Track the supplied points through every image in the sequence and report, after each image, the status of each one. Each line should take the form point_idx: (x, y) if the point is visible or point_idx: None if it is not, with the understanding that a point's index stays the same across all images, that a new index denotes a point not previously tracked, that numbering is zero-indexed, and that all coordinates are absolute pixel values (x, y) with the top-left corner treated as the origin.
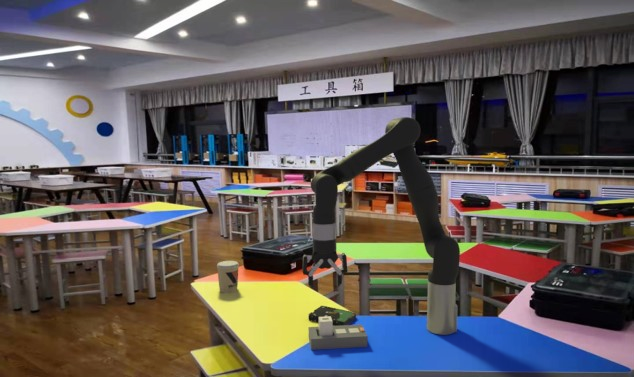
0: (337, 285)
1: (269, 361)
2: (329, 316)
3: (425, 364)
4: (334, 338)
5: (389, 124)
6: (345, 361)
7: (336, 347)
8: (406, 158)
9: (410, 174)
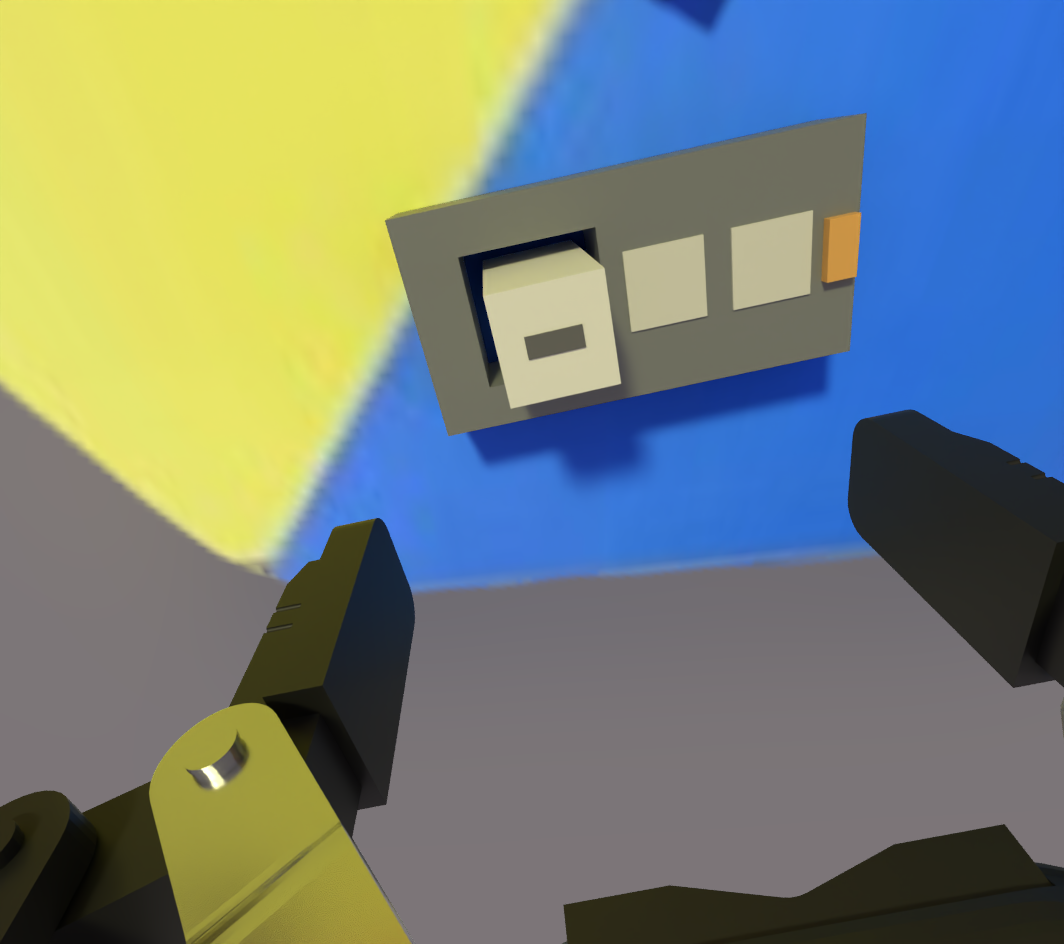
0: (857, 509)
1: (248, 551)
2: (592, 274)
3: None
4: (611, 399)
5: None
6: (654, 508)
7: None
8: None
9: None
